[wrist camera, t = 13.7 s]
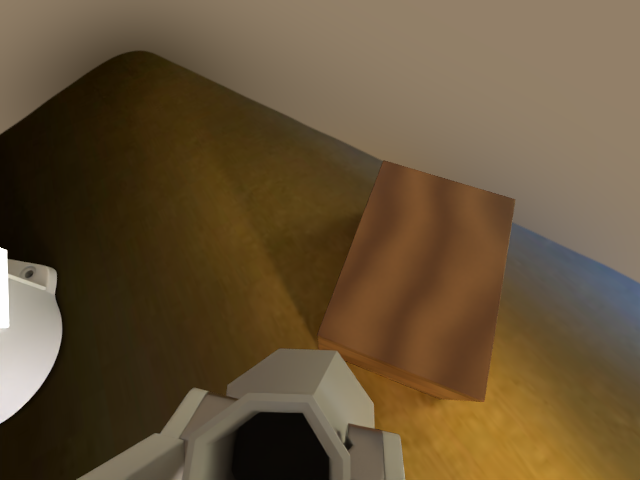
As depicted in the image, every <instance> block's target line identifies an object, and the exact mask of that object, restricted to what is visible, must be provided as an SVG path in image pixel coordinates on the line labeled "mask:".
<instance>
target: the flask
mask: <svg viewBox="0 0 640 480" xmlns="http://www.w3.org/2000/svg"><path fill="white" fill-rule="evenodd" d="M226 396H230V397H234V398H238V399H239V400H237V401H236V402H235V403H233V404H232V405H230V406H229V407H228V408H226V409H225V410H224V411H222V412H221V413H219V414H218V415H217V416H215V417H214V418H213V419H211V420H210V421H208V422H207V423H206V424H204V425H203V426H201V427H200V428H199V429H197V430H196V431H195V432H193V433H192V434H190V436H189V441H188V447H187V453H186V459H185V464H184V470H183V476H182V480H351V473H350V454H349V452H348V451H347V449H346V448H345V446H344V444H343V443H344V442H345V432H346V428H347V424H348V423H350V424H355V425H359V426H364V427H369V428H374V429H375V426H374V403H373V402H372V401H371V399H370V398H369V396H368V395H367V393H366V392H365V390H364V389H363V387H362V386H361V385H360V383H359V382H358V380H357V379H356V377H355V376H354V374H353V373H352V371H351V370H350V369H349V367H348V366H347V364H346V363H345V361H344V360H343V358H342V357H341V355H340V354H339V353H338V351H335V350H306V349H278V350H276V351H275V352H274V353H272V354H271V355H269V356H268V357H267V358H265V359H264V360H262V361H261V362H260V363H258V364H257V365H255V366H254V367H252V368H251V369H250V370H248V371H247V372H245V373H244V374H243V375H241V376H240V377H238V378H237V379H235V380H234V381H233V382H231V383H230V384H228V386H227V394H226ZM238 428H239V431H238V435H237V439H236V442H235V438H236V430H237V429H238Z"/></svg>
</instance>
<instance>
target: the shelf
mask: <svg viewBox="0 0 640 480" xmlns="http://www.w3.org/2000/svg"><path fill="white" fill-rule="evenodd" d="M514 206H515V199H512V198H509V197H506V196H502V195H499V194H495V193H492V192H489V191H485V190H482V189H478V188H475V187H472V186H469V185H465V184H462V183H458V182H455V181H451V180H448V179H445V178H442V177H438V176H435V175H431V174H428V173H425V172H421V171H418V170H415V169H411V168H408V167H404V166H401V165H398V164H394V163H391V162H388V161H383V163H382V165H381V168H380V171H379V173H378V176H377V178H376V181H375V184H374V186H373V189H372V192H371V194H370V197H369V199H368V202H367V205H366V207H365V210H364V213H363V215H362V218H361V221H360V223H359V226H358V228H357V231H356V234H355V236H354V239H353V242H352V244H351V247H350V249H349V252H348V255H347V257H346V260H345V263H344V265H343V268H342V270H341V273H340V276H339V278H338V281H337V284H336V286H335V289H334V292H333V294H332V297H331V299H330V302H329V305H328V307H327V310H326V313H325V315H324V318H323V320H322V323H321V326H320V328H319V331H318V334H317V338H318V350H335V351H338V353H339V354H340V355H341V357H342V358H343V360H344V361H347V362H349V363H352V364H354V365H357V366H359V367H361V368H364V369H366V370H369V371H371V372H374V373H376V374H379V375H381V376H384V377H386V378H389V379H391V380H393V381H396V382H398V383H401V384H403V385H406V386H408V387H411V388H413V389H416V390H418V391H421V392H423V393H425V394H428V395H430V396H433V397H435V398H438V399H446V400H464V401H478V402H484V400H485V394H486V387H487V381H488V374H489V368H490V361H491V355H492V349H493V342H494V336H495V329H496V323H497V316H498V310H499V303H500V297H501V290H502V284H503V277H504V271H505V264H506V258H507V252H508V245H509V239H510V232H511V226H512V218H513V212H514Z"/></svg>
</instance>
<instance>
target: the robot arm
mask: <svg viewBox="0 0 640 480" xmlns="http://www.w3.org/2000/svg"><path fill="white" fill-rule="evenodd" d="M32 274H33V275H32ZM31 275H32V276H31ZM56 283H57V273H56V271H55V270H54V269H53V268H51V267H47V266H44V265H39V264H33V263H27V262H22V261H16V260H10V259H7V251H6V250H4V249H2V248H0V423H2V422H3V421H5V420H6V419H8V418H9V417H10V416H12V415H13V414H14V413H16V412H17V411H18V410H19V409H20V408H21V407H22V406H23V405H25V404H26V403H27V402H28V400H29V399H30V398H31V397H32V396H33V395H34V394H35V393H36V391H37V390H38V389H39V388H40V386H41V385H42V383H43V382H44V380H45V379H46V377H47V376H48V374H49V372H50V370H51V368H52V366H53V364H54V362H55V360H56V357H57V354H58V351H59V348H60V343H61V338H62V319H61V314H60V311H59V308H58V305H57V303H56V299H55V290H56ZM237 400H239V399H238V398H234V397H230V396H226V395H222V394H218V393H214V392H211V391H206V390H202V389H198V388H192V389H191V390H190V391H189V392H188V393H187V395H186V396H185V398H184V399H183V401H182V402H181V404H180V405H179V407H178V408H177V410H176V411H175V413H174V414H173V416H172V417H171V418H170V420H169V421H168V423H167V424H166V426H165V427H164V429H163V430H162V432H161V433H160V434H157V433H154V434H153V435H151V436H149V437H148V438H146V439H144V440H143V441H141V442H139V443H137V444H136V445H134V446H132V447H131V448H129V449H127V450H126V451H124V452H122V453H121V454H119V455H117V456H116V457H114V458H112V459H111V460H109V461H107V462H106V463H104V464H102V465H101V466H99V467H97V468H95V469H94V470H92V471H90V472H89V473H87V474H85V475H84V476H82V477H80V478H79V479H77V480H182V476H183V470H184V464H185V459H186V453H187V447H188V441H189V436H190V434H192V433H193V432H195V431H196V430H197V429H199V428H200V427H201V426H203V425H204V424H206V423H207V422H208V421H210V420H211V419H213V418H214V417H215V416H217V415H218V414H219V413H221V412H222V411H224V410H225V409H226V408H228V407H229V406H230V405H232V404H233V403H235V402H236V401H237ZM238 431H239V428H238V429H237V430H236V438H235V442H236V439H237V435H238ZM343 444H344V446H345V448H346V449H347V451H348V452H349V454H350V473H351V480H405V473H404V464H403V455H402V446H401V438H400V436H399V434H395V433H391V432H386V431H381V430H378V429H374V428H369V427H364V426H359V425H355V424H350V423H348V424H347V428H346V432H345V442H344V443H343Z"/></svg>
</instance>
